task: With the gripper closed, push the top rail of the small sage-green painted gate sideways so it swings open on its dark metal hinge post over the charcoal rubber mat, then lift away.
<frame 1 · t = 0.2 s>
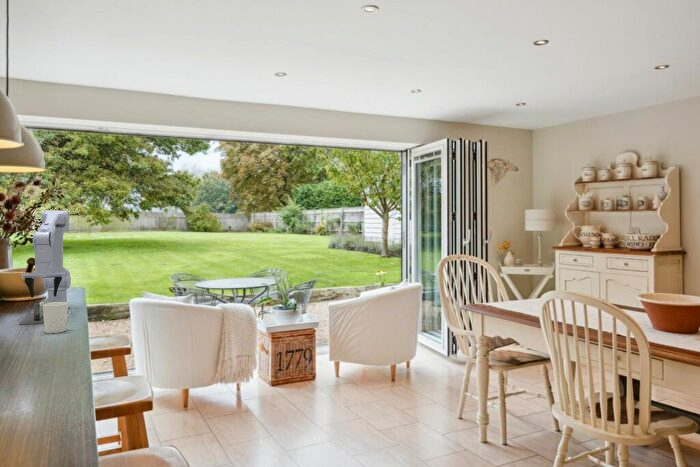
hand: (43, 296, 197), 10 cm above the kitchen island, tool pointing down, fingers open, 7 cm apart
white cup: (55, 331, 182), on the kitchen island
mat: (45, 318, 204), on the kitchen island
gate: (40, 309, 205), point 3 cm above the kitchen island, hinge at 0.0°
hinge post: (37, 321, 198), resting on mat
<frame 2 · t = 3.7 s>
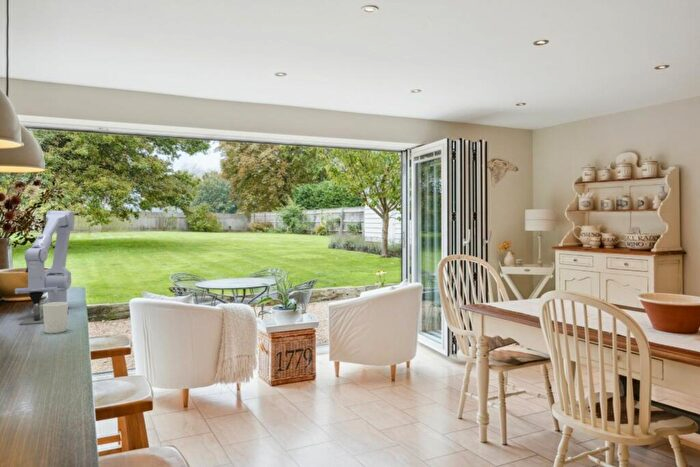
hand: (36, 310, 205), 3 cm above the kitchen island, tool pointing down, fingers closed, pressing on gate
gate: (40, 309, 205), point 3 cm above the kitchen island, hinge at 1.0°, touching gripper
everything else where it was.
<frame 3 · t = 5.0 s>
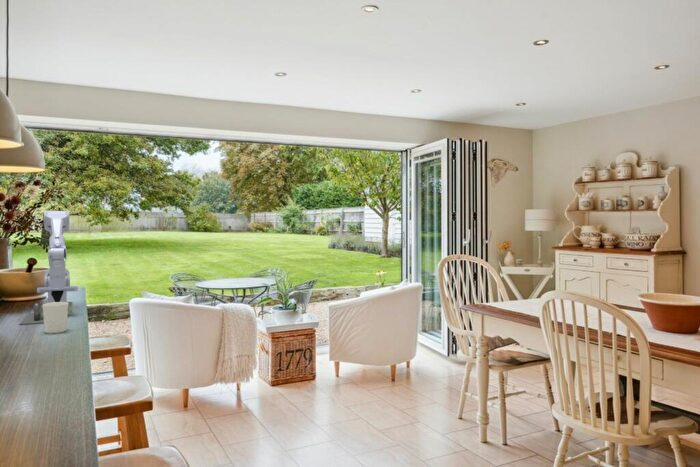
hand: (57, 309, 208), 3 cm above the kitchen island, tool pointing down, fingers closed
gate: (56, 310, 205), point 3 cm above the kitchen island, hinge at 46.5°, touching gripper
everything else where it was.
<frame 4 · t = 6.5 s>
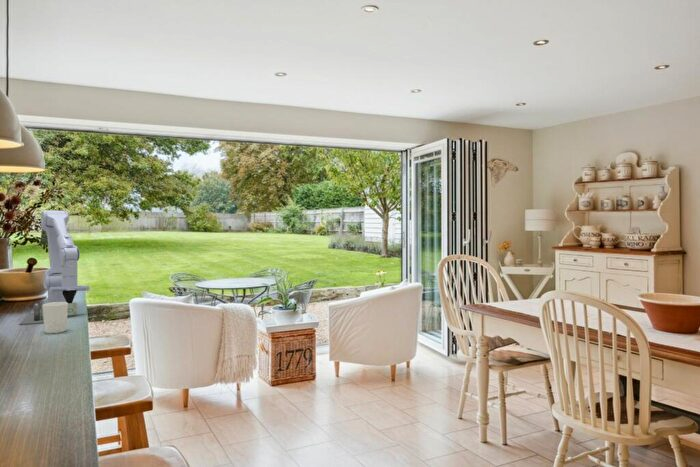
hand: (69, 308, 210), 3 cm above the kitchen island, tool pointing down, fingers closed
gate: (59, 310, 204), point 3 cm above the kitchen island, hinge at 60.4°, touching gripper
everything else where it was.
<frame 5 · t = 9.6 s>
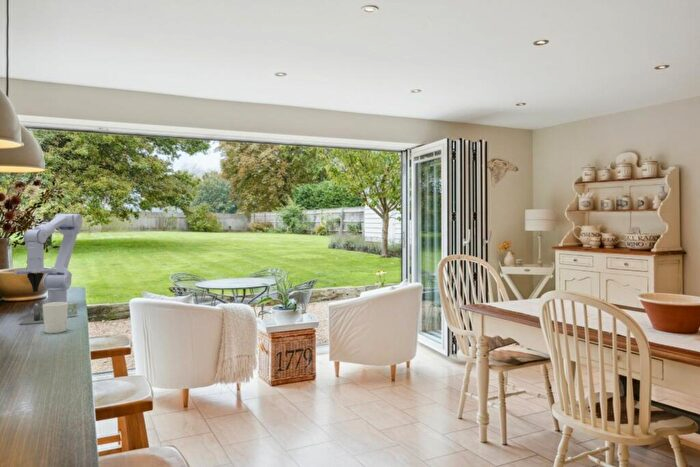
hand: (35, 291, 206), 10 cm above the kitchen island, tool pointing down, fingers closed
gate: (59, 310, 204), point 3 cm above the kitchen island, hinge at 60.7°
everything else where it was.
at the end: gate at +61° (first picture: +0°) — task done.
